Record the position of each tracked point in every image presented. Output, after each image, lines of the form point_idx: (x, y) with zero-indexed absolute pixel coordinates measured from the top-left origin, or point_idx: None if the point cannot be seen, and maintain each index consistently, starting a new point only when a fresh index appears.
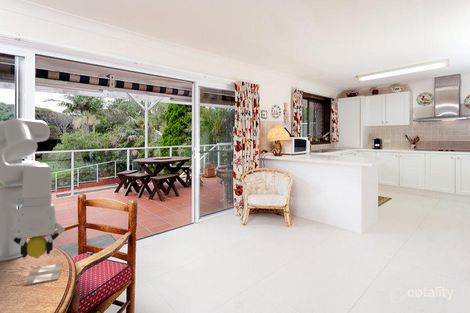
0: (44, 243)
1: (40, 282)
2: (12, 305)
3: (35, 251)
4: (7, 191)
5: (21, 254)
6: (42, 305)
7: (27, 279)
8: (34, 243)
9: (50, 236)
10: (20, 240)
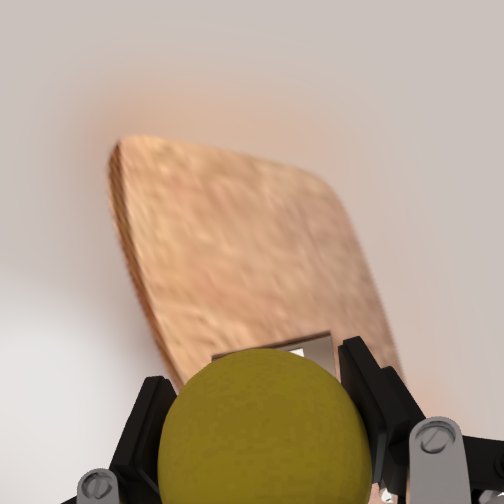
0: (158, 467)
1: (274, 348)
2: (310, 191)
3: (237, 368)
4: None
5: (384, 368)
6: (183, 162)
7: (333, 374)
8: (260, 464)
9: None
10: (464, 478)
